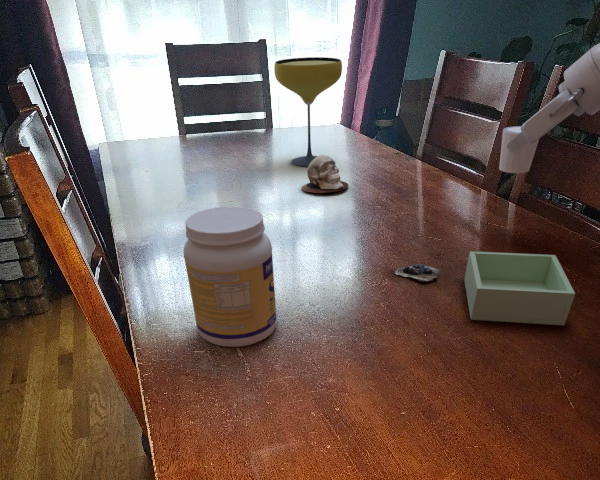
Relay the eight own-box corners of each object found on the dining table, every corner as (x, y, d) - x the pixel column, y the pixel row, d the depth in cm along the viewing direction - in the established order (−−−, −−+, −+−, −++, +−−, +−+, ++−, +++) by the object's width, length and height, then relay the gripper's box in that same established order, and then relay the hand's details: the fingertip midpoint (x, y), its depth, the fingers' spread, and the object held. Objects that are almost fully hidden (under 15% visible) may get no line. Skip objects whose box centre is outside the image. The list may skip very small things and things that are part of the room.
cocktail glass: (277, 155, 157) (271, 59, 142) (334, 152, 159) (336, 56, 143) (281, 172, 143) (276, 66, 128) (345, 168, 145) (347, 63, 129)
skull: (361, 183, 129) (342, 156, 121) (337, 217, 130) (316, 192, 122) (331, 171, 137) (311, 145, 129) (309, 204, 138) (287, 180, 130)
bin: (546, 284, 87) (555, 254, 83) (564, 325, 76) (575, 293, 73) (464, 280, 89) (469, 251, 85) (470, 319, 78) (477, 288, 75)
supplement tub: (286, 342, 75) (280, 228, 64) (203, 357, 72) (183, 241, 62) (266, 303, 84) (258, 199, 73) (192, 316, 81) (173, 209, 71)
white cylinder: (536, 166, 100) (546, 126, 95) (528, 175, 95) (537, 134, 91) (501, 163, 103) (508, 124, 98) (491, 171, 98) (498, 131, 94)
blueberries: (436, 286, 87) (437, 275, 86) (389, 280, 89) (390, 270, 88) (441, 269, 92) (443, 260, 91) (397, 264, 94) (398, 254, 93)
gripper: (587, 112, 80) (509, 171, 90) (607, 92, 93) (538, 145, 103) (564, 78, 79) (489, 141, 89) (588, 62, 92) (520, 119, 102)
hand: (515, 143), depth 96 cm, fingers closed on white cylinder, 7 cm apart
